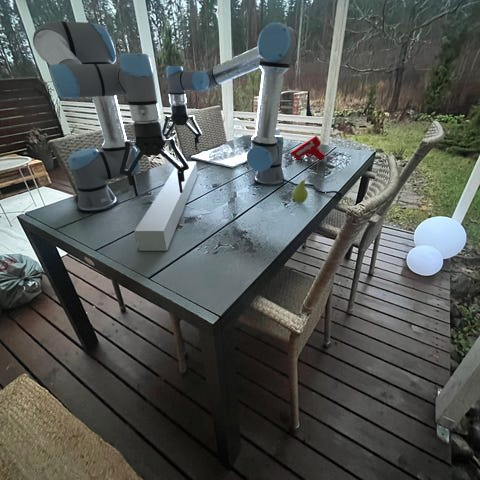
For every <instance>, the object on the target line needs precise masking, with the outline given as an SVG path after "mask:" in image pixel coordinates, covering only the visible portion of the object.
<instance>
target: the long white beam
mask: <svg viewBox="0 0 480 480" xmlns="http://www.w3.org/2000/svg"><path fill="white" fill-rule="evenodd" d="M178 163H179V164H180V165H181V166H183V165H182V163H181V161H178ZM187 163H188V164H189V169H188V170H185V171H184V178H185V181H184V182H182V193H180V189H179V182H178V174H177V170H178V169H177V168H175V167H174V169H173V171H172V173H171V174H170V176H168V179H167V180H166V182H165V183H164V185H163V186H162V188H161V190H160V191H159V192H158V194H157V196H156V197H155V199H154V200H153V202H152V203H151V205H150V207H149V208H148V209H147V211H146V213H145V214H144V216H143V217H142V219H141V220H140V222H139V223H138V225H136V227H135V229H134V235H135V239H136V242H137V247H138V250H139V252H142V251H143V252H147V251H149V252H151V251H152V252H153V251H155V252H156V251H158V252H159V251H160V252H161V251H162V252H164V251H165V252H166V251H168V249H169V247H170V244H171V241H172V239H173V236H174V234H175V232H176V229H177V227H178V225H179V222H180V220H181V217H182V214H183V212H184V210H185V207H186V205H187V202H188V200H189V197H190V196H191V195H190V194H191V192H192V190H193V187H194V185H195V183H196V180H197V178H198V165H197V161H187Z"/></svg>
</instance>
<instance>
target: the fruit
mask: <svg viewBox="0 0 480 480" xmlns="http://www.w3.org/2000/svg"><path fill="white" fill-rule="evenodd" d="M310 177H311V175H310V174H309V175H308V176H307V177H305V179H302V180H301V181H300V182H298V183H297V184H298V186H295V187H294V188H293V190H292V191H291V198H292V200H293V201H294V202H295V203H297V204H301V203H304V202H305V201H306V200H307V198H308V196H309V195H308V190H307V189H306V186H305V184H306V180H308V179H309V178H310Z"/></svg>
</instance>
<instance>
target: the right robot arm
mask: <svg viewBox="0 0 480 480" xmlns="http://www.w3.org/2000/svg"><path fill="white" fill-rule="evenodd" d="M298 47H299V38H298V35H297V33H296V31H295V30H294V28H292V27H291V26H289V25H287V24H285V23H284V22H276V21H275V22H270V23H268V24H267V25H265V26H264V28H262V30H261V31H260V33H259V35H258V39H257V46H256V47H253V48H251V49H249V50H247V51H245V52H243V53H240V54H238V55H236V56H234V57H232V58H230V59H228V60H226V61H224V62H222V63H219V64H217V65H215V66H213V67H211V68H209V69H207V70H186V71H185V70H184V68H183V66H182V65H168V66H166V68H165V74H166V82H167V89H168V97H169V104H170V112H171V113H170V114H171V115H168V114H167V115H165V116H164V119H165V120H164V124H163V127H162V133H163V137H164V139H171V136H170V134H171V132H172V131H173V130H174V129H175V126H177V127H179V126H183V127H184V126H185V127H187V129H188V130H189V131H190V132H191V133H192V134H193V136H194V137H193V139H194V149H195V151H196V152H197V151H198V150H199V147H198V144H199V143H200V137H201V136H202V135H203V132H202V130H201V128H200V127H199V125H198V123H197V120H196V118H195V115H194V114H192V115H189V114H188V108H187V97H186V91H190V92H191V91H192V92H193V91H194V92H205V91H207V90H212V89H215V88H217V87H218V86H220V85H222V84H224V83H226V82H229V81H231V80H235V79H236V78H238V77H239V78H240V77H241V76H243V75H246V74H248V73H250V72H253V71H256V70H258V69H261V72H262V73H261V79H260V80H261V82H260V89H259V99H258V108H257V119H256V127H255V134H254V135H253V136H252V137H251V139H250V140H251V142H250V148H249V149H248V150H247V162H246V163H247V164H248V165H249V167H250V168H251V169H252V170H254V171H256V174H255V177H254V181H255V183H258V184H259V185H262V186H263V185H264V186H279V185H281V184H283V183H284V182H286V183H288V184H290V185H294V186H295V187H297V186H298V184H299V183H295V182H292V181H290V180H287V179H285V175H284V172H283V171H284V170H283V167H282V165H283V154H284V153H283V152H284V137H283V135H280V136H279V135H275V131H276V128H277V125H278V119H279V118H278V117H279V111H280V104H281V97H282V91H283V84H284V77H285V73H286V72H287V71H288V70H289V69H290V63H291V59H292V58H293V57H294V56H295V54H296V53H297V50H298ZM171 120H172V123H171V125H170V127H169V128H168V125H169V122H170V121H171ZM189 121H191V123H192V124H193V126H194V127H193V126H192V125H191V123H190V122H189ZM167 129H168V130H167ZM167 146H168V151H173V149H172V147H170V146H169V145H168V144H167ZM314 185H315V184H312V183H305V187H312V188H315V190H316V191H317V192H318V193H321V194H332V193H333V194H337V195H338V196H339V197H340V196H341V197H342V196H343V195H342V193H341V192H339V191H337V190H329V191H324V192H322V191H323V190H321V191H319V190H320V189H319V188H318V189H317V188H316V187H315V186H316V185H315V186H314ZM325 192H326V193H325Z"/></svg>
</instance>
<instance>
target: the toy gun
mask: <svg viewBox="0 0 480 480" xmlns="http://www.w3.org/2000/svg"><path fill="white" fill-rule="evenodd" d="M321 143H322V141H321V140H320V139H319V137H318V136H317V135H314V136H313V137H311V138H309V139H308V140H306V141H305V142H303V143H302V144H301V145H299V146H297V147H296V148H294V149H293V150H291V153H290V154H291V156H292V157H293V159H294V158H296V159H294V160H295V161H297V160H299V159H301V158H303V157H305V156H306V157H307V158H310V157H312V156H314V157H315V158H316V159H317V160H318V159H319V160H321V161H322V159H323V161H324V159H325V157H326V154H325V152H323V151H322V150H321V149H320V148H319V146H320V147H321ZM319 160H318V162H319V163H320V162H321V161H319Z"/></svg>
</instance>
